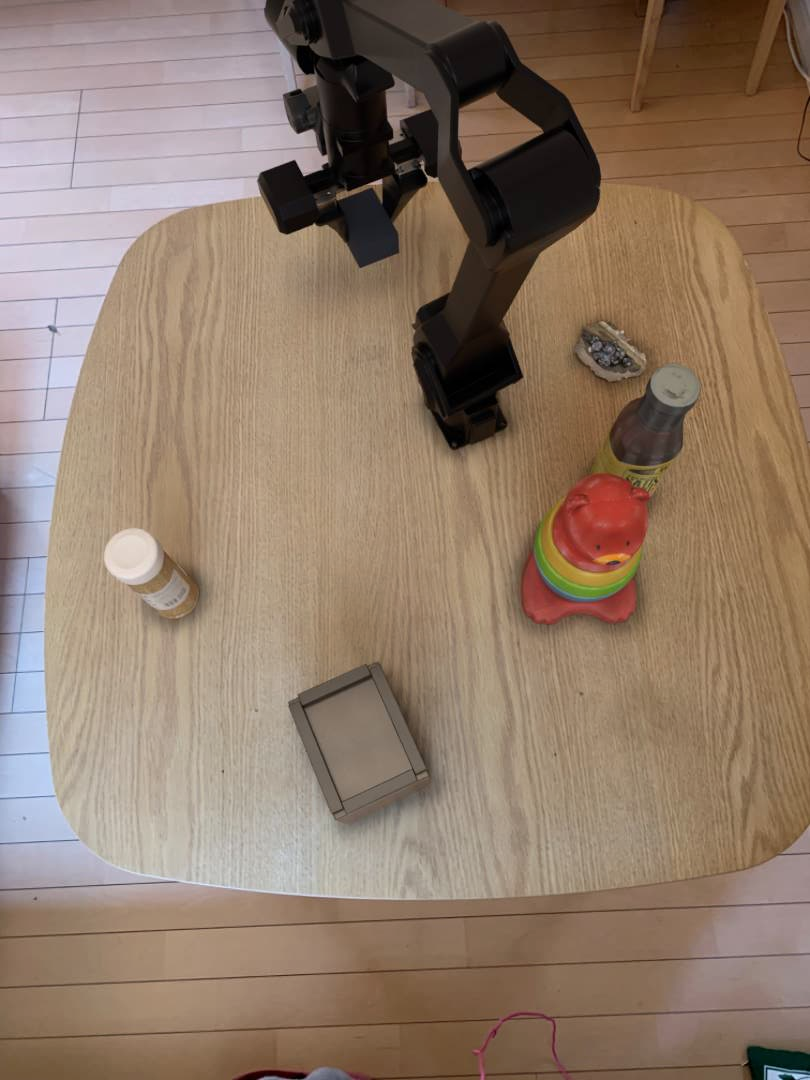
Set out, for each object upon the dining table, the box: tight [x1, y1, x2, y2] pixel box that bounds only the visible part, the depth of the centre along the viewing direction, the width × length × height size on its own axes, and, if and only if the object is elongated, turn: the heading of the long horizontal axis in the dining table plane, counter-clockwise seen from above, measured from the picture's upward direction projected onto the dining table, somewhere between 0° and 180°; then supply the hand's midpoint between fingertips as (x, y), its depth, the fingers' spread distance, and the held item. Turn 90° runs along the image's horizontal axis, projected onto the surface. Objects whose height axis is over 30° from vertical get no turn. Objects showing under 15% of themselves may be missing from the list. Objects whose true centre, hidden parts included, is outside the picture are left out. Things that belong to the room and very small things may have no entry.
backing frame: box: [287, 661, 431, 825], centre depth 71 cm, size 10×8×11 cm
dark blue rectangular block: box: [337, 187, 400, 269], centre depth 87 cm, size 6×4×3 cm
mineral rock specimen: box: [571, 320, 648, 383], centre depth 89 cm, size 7×8×2 cm
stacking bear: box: [520, 473, 651, 626], centre depth 73 cm, size 11×10×18 cm
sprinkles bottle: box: [103, 527, 200, 620], centre depth 76 cm, size 5×5×14 cm
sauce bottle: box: [588, 363, 702, 498], centre depth 75 cm, size 7×6×20 cm
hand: (366, 230), depth 87 cm, fingers closed on dark blue rectangular block, 4 cm apart
